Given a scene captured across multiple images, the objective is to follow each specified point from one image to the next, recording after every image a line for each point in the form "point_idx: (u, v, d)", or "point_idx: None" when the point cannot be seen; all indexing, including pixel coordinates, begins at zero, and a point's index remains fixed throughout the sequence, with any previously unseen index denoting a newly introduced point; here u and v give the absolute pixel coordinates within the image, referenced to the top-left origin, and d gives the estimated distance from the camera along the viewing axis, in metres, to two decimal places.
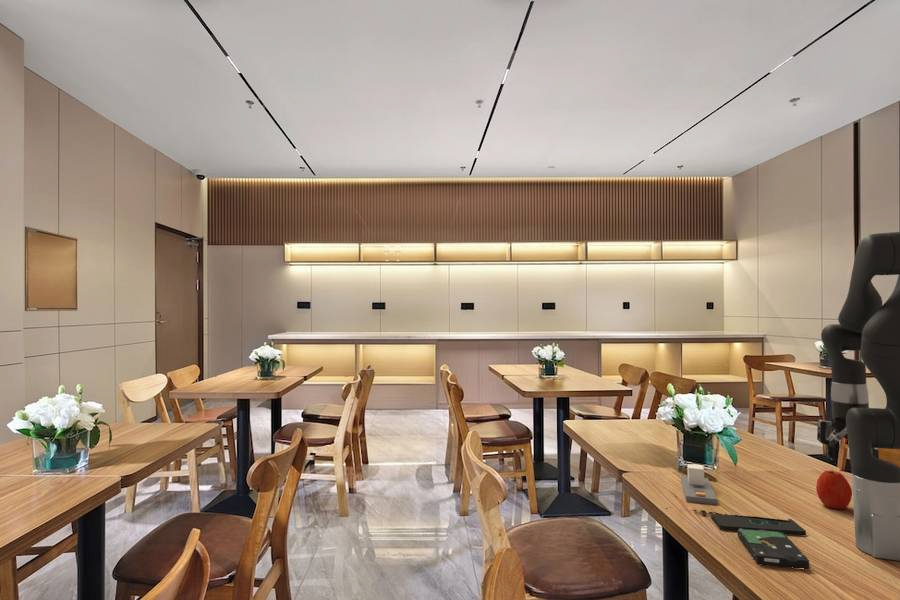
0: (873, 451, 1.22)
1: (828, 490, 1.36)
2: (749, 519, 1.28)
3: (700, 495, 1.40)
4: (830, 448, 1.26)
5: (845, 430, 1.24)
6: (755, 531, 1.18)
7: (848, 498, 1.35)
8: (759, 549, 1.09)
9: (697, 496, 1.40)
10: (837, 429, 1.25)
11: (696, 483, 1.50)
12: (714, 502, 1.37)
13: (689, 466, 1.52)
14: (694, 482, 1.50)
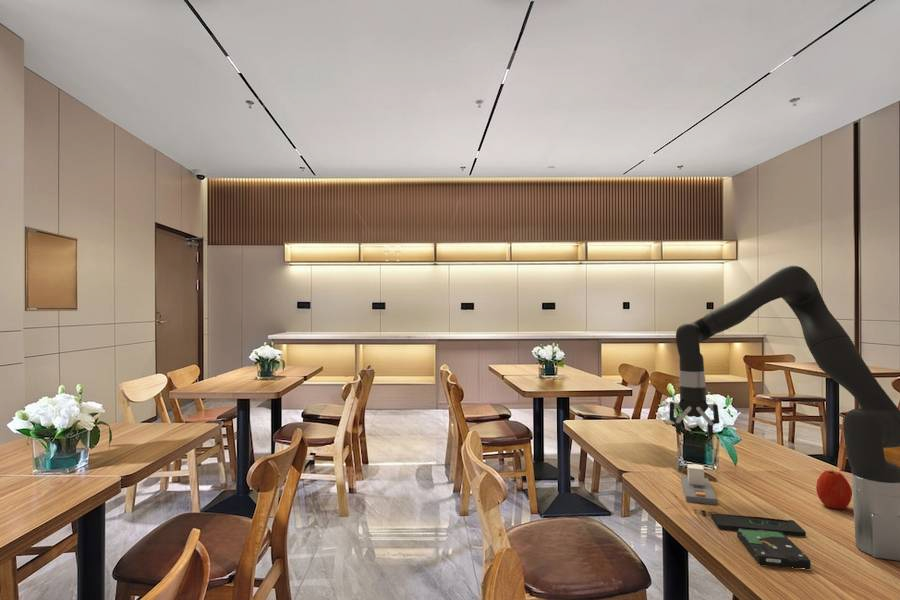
0: (708, 426, 1.50)
1: (828, 490, 1.36)
2: (749, 519, 1.28)
3: (700, 495, 1.40)
4: (677, 425, 1.54)
5: (687, 409, 1.52)
6: (755, 531, 1.18)
7: (848, 498, 1.35)
8: (760, 549, 1.09)
9: (697, 496, 1.40)
10: (682, 409, 1.53)
11: (696, 483, 1.50)
12: (714, 502, 1.37)
13: (689, 466, 1.52)
14: (694, 482, 1.50)
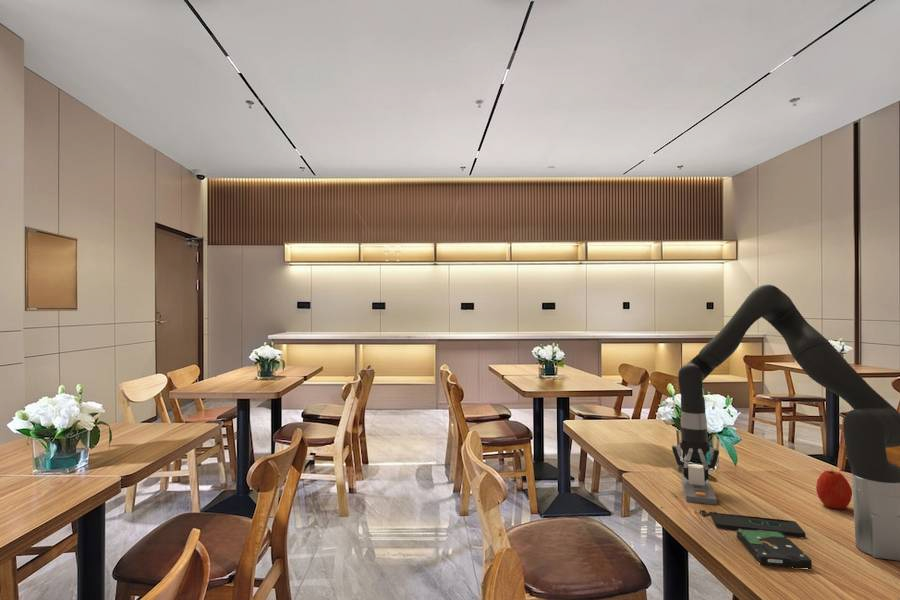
0: (704, 471, 1.50)
1: (828, 490, 1.36)
2: (749, 519, 1.28)
3: (700, 495, 1.40)
4: (685, 469, 1.52)
5: (689, 451, 1.51)
6: (754, 531, 1.18)
7: (848, 498, 1.35)
8: (761, 550, 1.09)
9: (697, 496, 1.40)
10: (685, 452, 1.52)
11: (696, 483, 1.50)
12: (714, 502, 1.37)
13: (689, 466, 1.52)
14: (694, 482, 1.50)
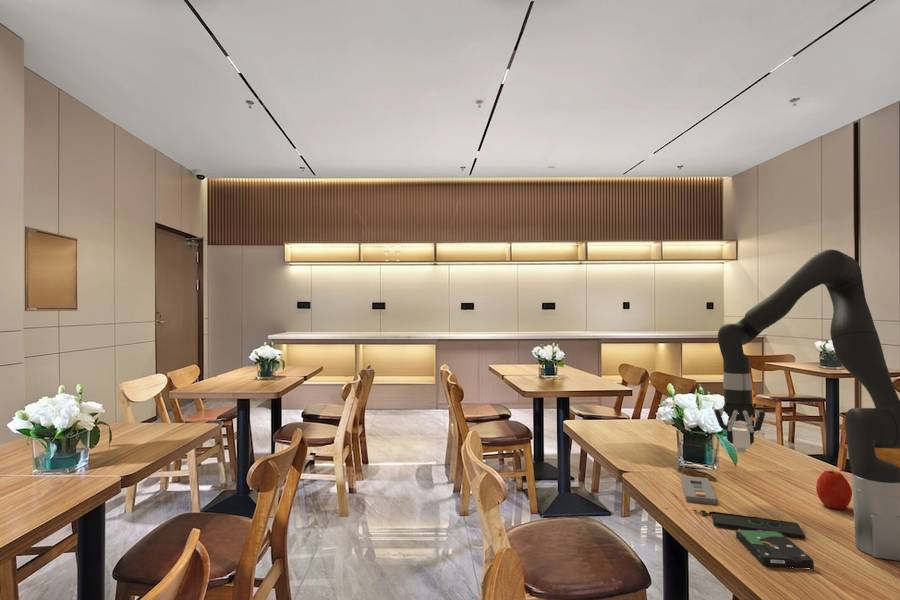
0: None
1: (828, 490, 1.36)
2: (750, 519, 1.27)
3: (700, 495, 1.40)
4: (729, 433, 1.47)
5: (734, 414, 1.45)
6: (753, 531, 1.18)
7: (848, 498, 1.35)
8: (763, 550, 1.09)
9: (697, 496, 1.40)
10: (729, 415, 1.47)
11: (741, 446, 1.44)
12: (714, 502, 1.37)
13: (733, 429, 1.47)
14: (739, 445, 1.44)
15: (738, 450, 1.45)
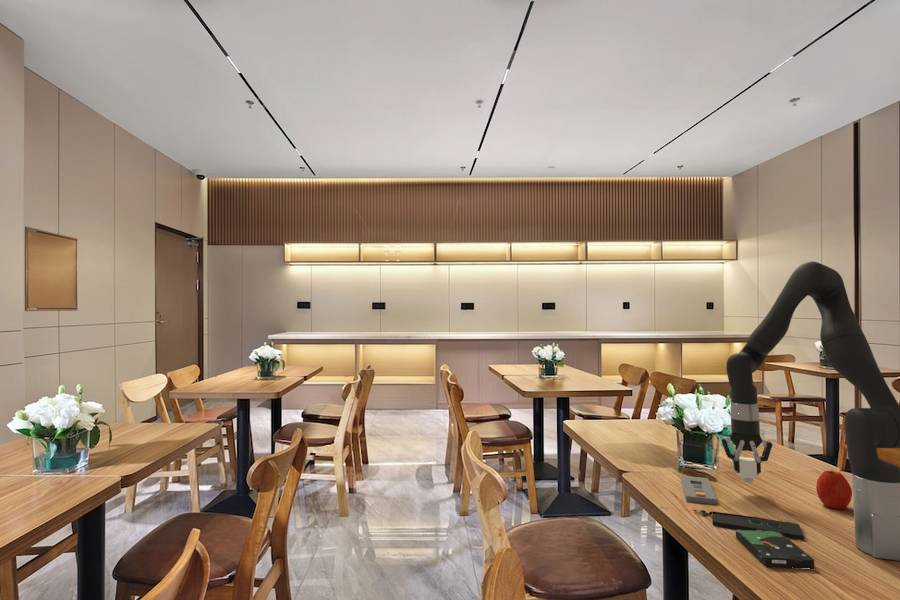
0: None
1: (828, 490, 1.36)
2: (750, 519, 1.27)
3: (700, 495, 1.40)
4: (736, 462, 1.47)
5: (741, 444, 1.45)
6: (753, 531, 1.18)
7: (848, 498, 1.35)
8: (764, 551, 1.09)
9: (697, 496, 1.40)
10: (735, 444, 1.46)
11: (748, 476, 1.44)
12: (714, 502, 1.37)
13: (740, 459, 1.46)
14: (746, 475, 1.44)
15: (745, 480, 1.45)
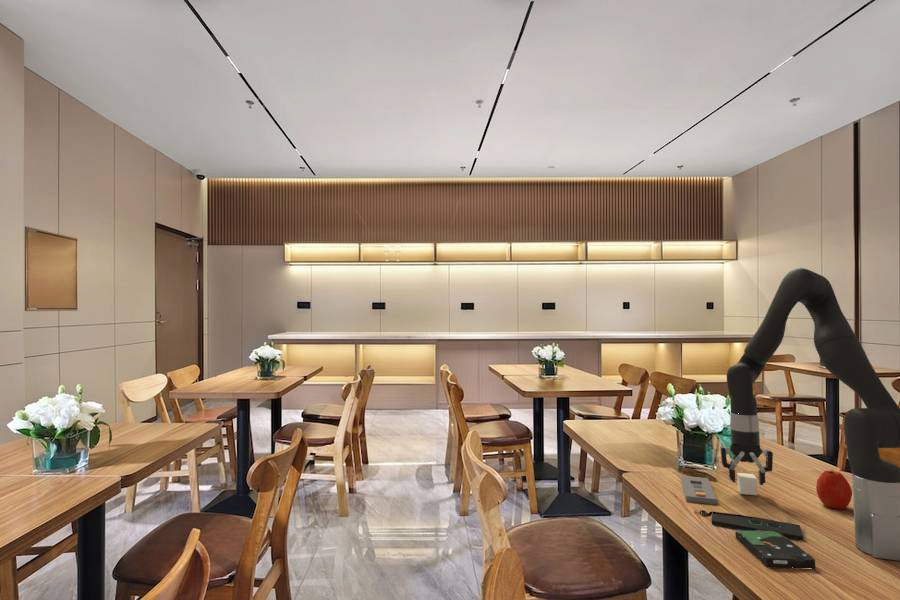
0: (760, 474, 1.43)
1: (828, 490, 1.36)
2: (750, 519, 1.27)
3: (700, 495, 1.40)
4: (731, 471, 1.47)
5: (740, 455, 1.45)
6: (753, 532, 1.18)
7: (848, 498, 1.35)
8: (765, 551, 1.08)
9: (697, 496, 1.40)
10: (734, 454, 1.46)
11: (748, 493, 1.44)
12: (714, 502, 1.37)
13: (740, 475, 1.46)
14: (746, 492, 1.44)
15: None
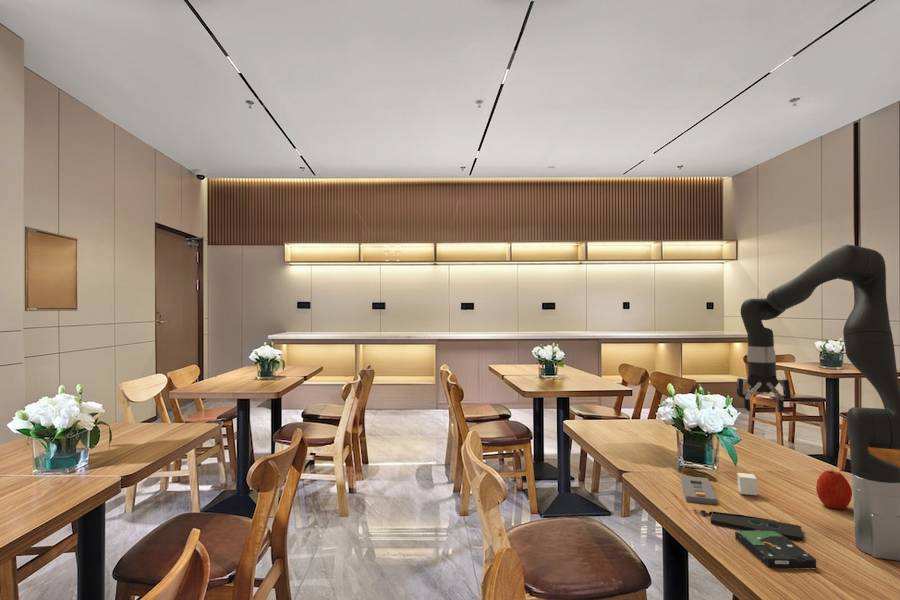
0: (779, 402, 1.49)
1: (828, 490, 1.36)
2: (750, 519, 1.27)
3: (700, 495, 1.40)
4: (746, 401, 1.52)
5: (757, 385, 1.50)
6: (752, 532, 1.18)
7: (848, 498, 1.35)
8: (766, 551, 1.08)
9: (697, 496, 1.40)
10: (751, 385, 1.52)
11: (748, 493, 1.44)
12: (714, 502, 1.37)
13: (740, 475, 1.46)
14: (746, 492, 1.44)
15: None
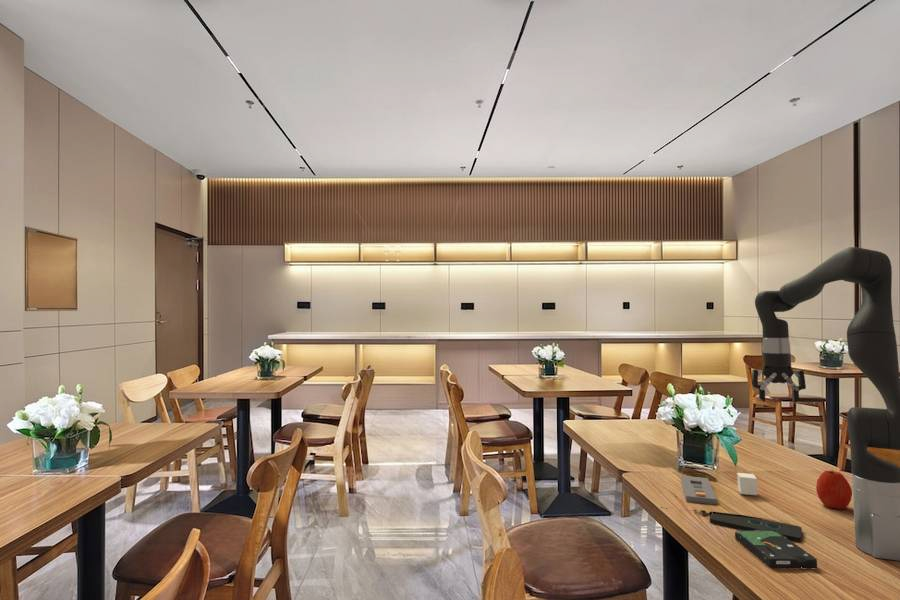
0: (794, 392, 1.51)
1: (828, 490, 1.36)
2: (750, 519, 1.27)
3: (700, 495, 1.40)
4: (761, 391, 1.55)
5: (772, 376, 1.53)
6: (752, 532, 1.18)
7: (848, 498, 1.35)
8: (767, 551, 1.08)
9: (697, 496, 1.40)
10: (766, 375, 1.54)
11: (748, 493, 1.44)
12: (714, 502, 1.37)
13: (740, 475, 1.46)
14: (746, 492, 1.44)
15: None
